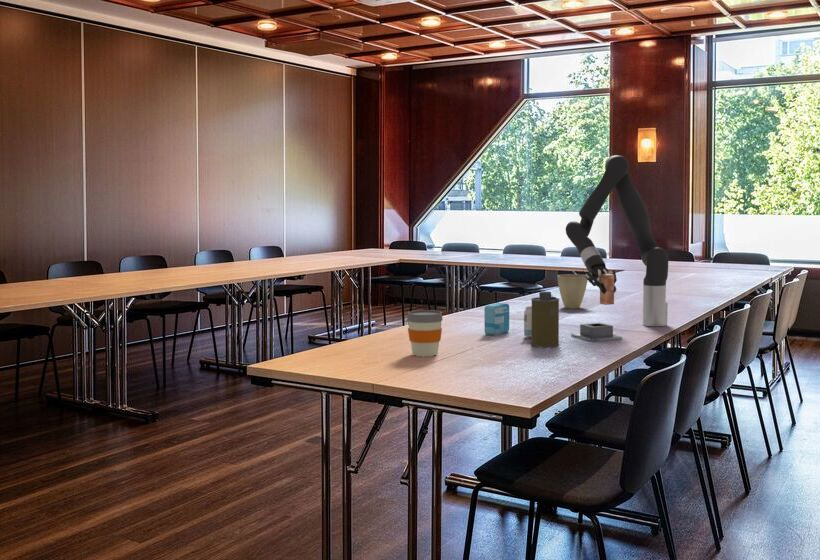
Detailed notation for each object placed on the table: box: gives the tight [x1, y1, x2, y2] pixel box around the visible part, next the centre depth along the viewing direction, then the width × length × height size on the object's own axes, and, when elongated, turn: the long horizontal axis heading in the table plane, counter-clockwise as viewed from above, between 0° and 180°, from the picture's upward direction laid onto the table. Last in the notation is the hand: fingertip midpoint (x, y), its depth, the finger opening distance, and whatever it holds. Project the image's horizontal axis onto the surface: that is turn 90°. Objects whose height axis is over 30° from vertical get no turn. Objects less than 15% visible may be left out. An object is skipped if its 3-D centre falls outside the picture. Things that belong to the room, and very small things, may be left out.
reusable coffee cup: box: [406, 309, 443, 357], centre depth 296 cm, size 13×12×15 cm
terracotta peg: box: [599, 274, 615, 306], centre depth 338 cm, size 4×4×12 cm
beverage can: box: [523, 306, 532, 340], centre depth 329 cm, size 7×7×12 cm
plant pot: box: [557, 273, 588, 310], centre depth 414 cm, size 15×15×16 cm
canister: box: [530, 291, 560, 348], centre depth 312 cm, size 11×10×20 cm
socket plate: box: [570, 322, 623, 343], centre depth 327 cm, size 14×14×5 cm
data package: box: [483, 302, 510, 336], centre depth 340 cm, size 12×4×12 cm, turn 142°
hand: (609, 292), depth 336 cm, fingers closed on terracotta peg, 4 cm apart
